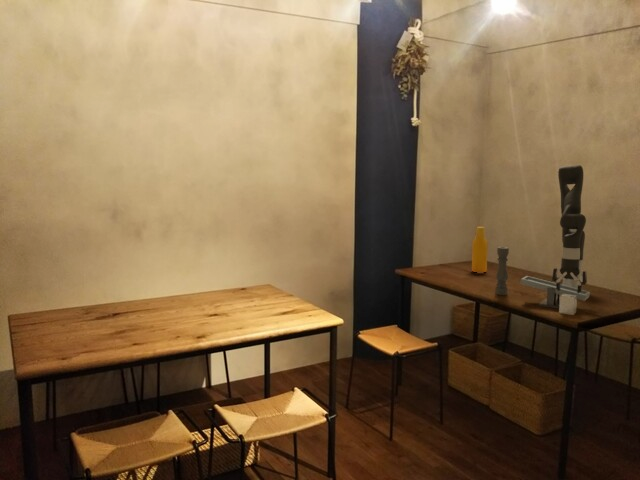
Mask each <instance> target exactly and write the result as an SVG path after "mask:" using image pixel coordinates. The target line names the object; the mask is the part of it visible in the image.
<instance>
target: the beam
mask: <svg viewBox="0 0 640 480" xmlns="http://www.w3.org/2000/svg"><path fill="white" fill-rule="evenodd" d="M556 284H557V283H556V282H555V281H549V280H546V279H545V280H544V279H541V278H537V277H533V276H529V275H526V276H524V277H522V278H521V279H520V284H519V285H523V286H527V287H530V288H534V289H538V290H542V291H544V292H547V289H548V288H552V289H555V291H554V293H556V294H560V296H561V295H562V294H570V295H577V300H579V301H583V302H586V300H587V299H589V298H590V294H591V292H590V291H588V290H586V289H585V290H584V289H582V291H581V292H580V293H577V290H578V289H577V288H573V287H569V286H565V285H563V284H561V286H560V291H558V289H556Z"/></svg>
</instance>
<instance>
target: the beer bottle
mask: <svg viewBox="0 0 640 480" xmlns="http://www.w3.org/2000/svg"><path fill="white" fill-rule="evenodd" d="M485 233H486V232H485V227H484V226H477V228H476V233H475V234H476V235H475V237H474V239H473V241H472V250H471V255H472V257H471V272H472V271H474V272H486V271H487V272H488V241H487V239H486V236H485V235H486V234H485ZM487 272H486V273H487Z"/></svg>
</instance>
